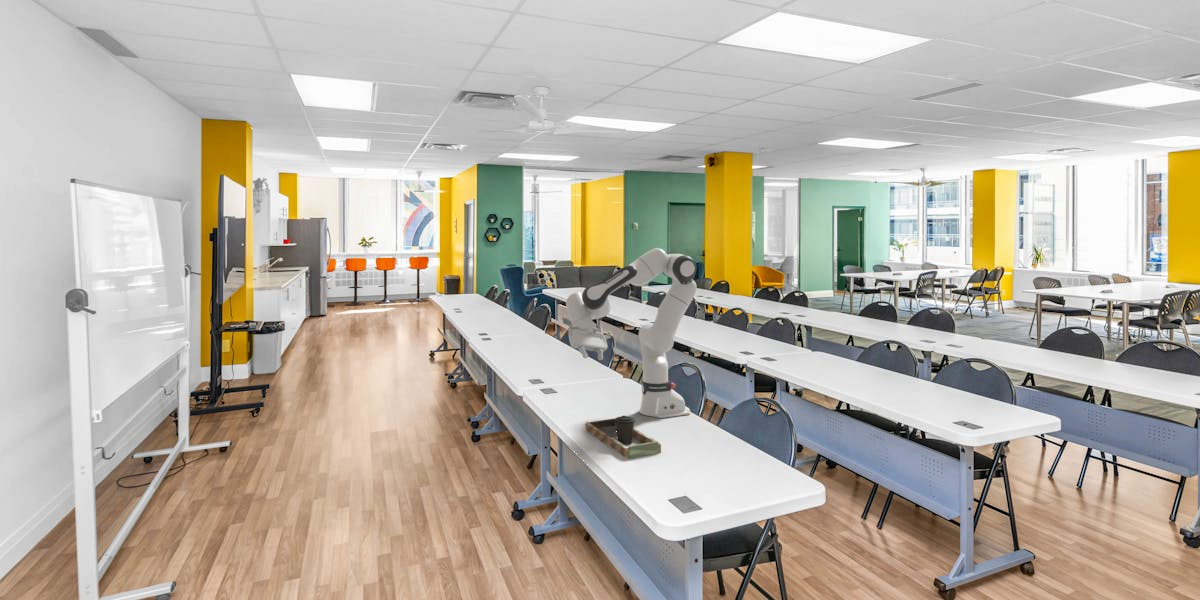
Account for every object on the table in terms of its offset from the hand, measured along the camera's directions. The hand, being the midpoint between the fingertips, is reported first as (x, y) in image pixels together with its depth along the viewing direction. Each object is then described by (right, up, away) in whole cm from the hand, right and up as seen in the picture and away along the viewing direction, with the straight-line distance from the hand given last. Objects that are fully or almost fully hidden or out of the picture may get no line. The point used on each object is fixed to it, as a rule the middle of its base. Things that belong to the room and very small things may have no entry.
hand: (593, 358), depth 258 cm
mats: (+7, -29, -5) cm, 30 cm away
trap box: (+11, -30, -14) cm, 35 cm away
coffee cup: (+12, -31, -17) cm, 37 cm away
